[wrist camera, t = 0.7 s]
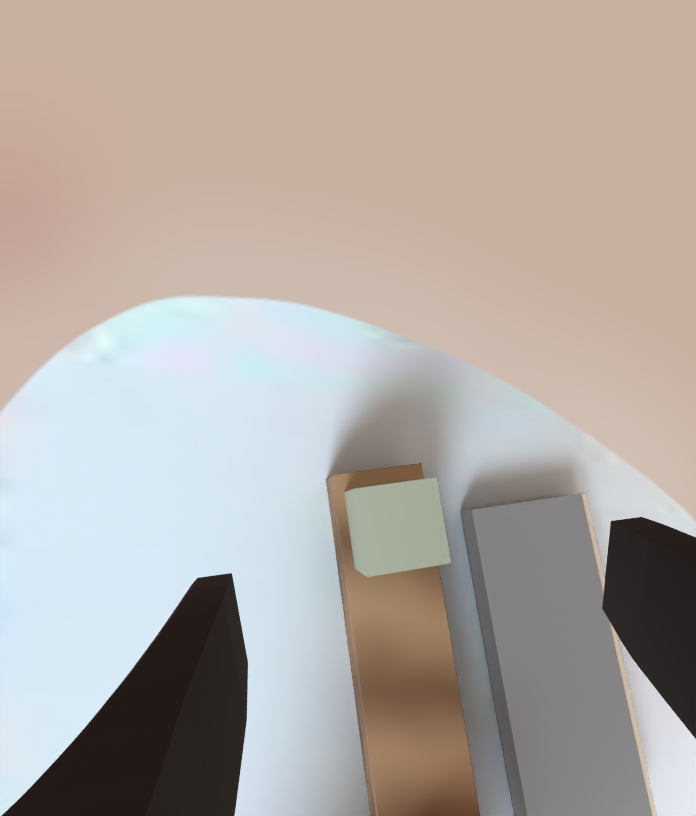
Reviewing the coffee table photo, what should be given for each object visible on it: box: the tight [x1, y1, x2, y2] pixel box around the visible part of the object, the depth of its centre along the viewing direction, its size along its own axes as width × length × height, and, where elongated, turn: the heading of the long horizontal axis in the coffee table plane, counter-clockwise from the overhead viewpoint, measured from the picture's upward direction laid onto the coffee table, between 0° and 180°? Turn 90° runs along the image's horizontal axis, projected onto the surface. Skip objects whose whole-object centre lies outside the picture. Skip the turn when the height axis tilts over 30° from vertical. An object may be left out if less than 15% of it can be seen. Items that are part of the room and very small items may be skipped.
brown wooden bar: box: [326, 463, 480, 816], centre depth 29 cm, size 24×5×4 cm, turn 8°
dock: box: [460, 493, 657, 816], centre depth 31 cm, size 18×7×2 cm, turn 8°
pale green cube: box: [344, 477, 451, 577], centre depth 27 cm, size 4×4×4 cm
